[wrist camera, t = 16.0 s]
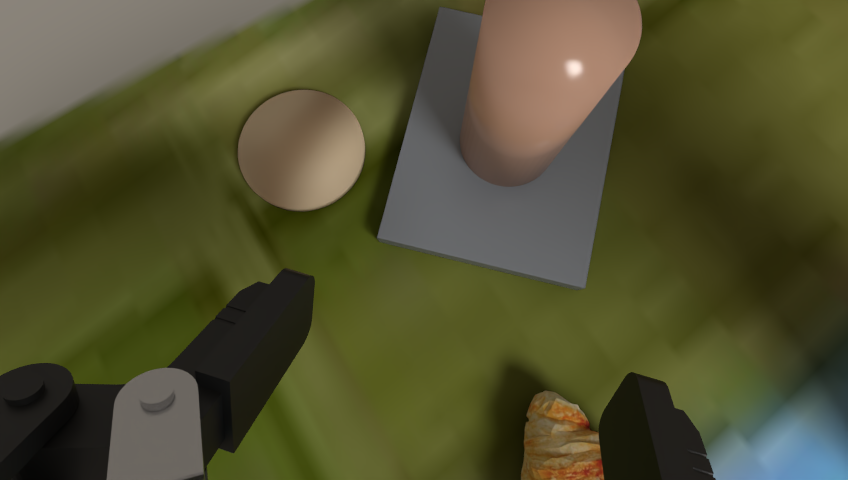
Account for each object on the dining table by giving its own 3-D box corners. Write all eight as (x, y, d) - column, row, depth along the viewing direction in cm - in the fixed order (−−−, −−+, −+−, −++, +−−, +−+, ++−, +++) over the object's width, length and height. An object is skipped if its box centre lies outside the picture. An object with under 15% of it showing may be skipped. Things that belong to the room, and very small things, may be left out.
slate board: (619, 60, 27) (628, 48, 26) (577, 290, 24) (585, 288, 23) (438, 20, 28) (439, 6, 26) (379, 241, 25) (377, 237, 24)
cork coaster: (379, 109, 26) (378, 105, 26) (346, 224, 25) (344, 222, 25) (263, 83, 27) (260, 77, 26) (225, 195, 25) (220, 192, 25)
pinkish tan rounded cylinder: (563, 108, 25) (653, -31, 15) (544, 197, 24) (627, 108, 14) (471, 87, 25) (502, -65, 16) (449, 173, 24) (467, 70, 15)
